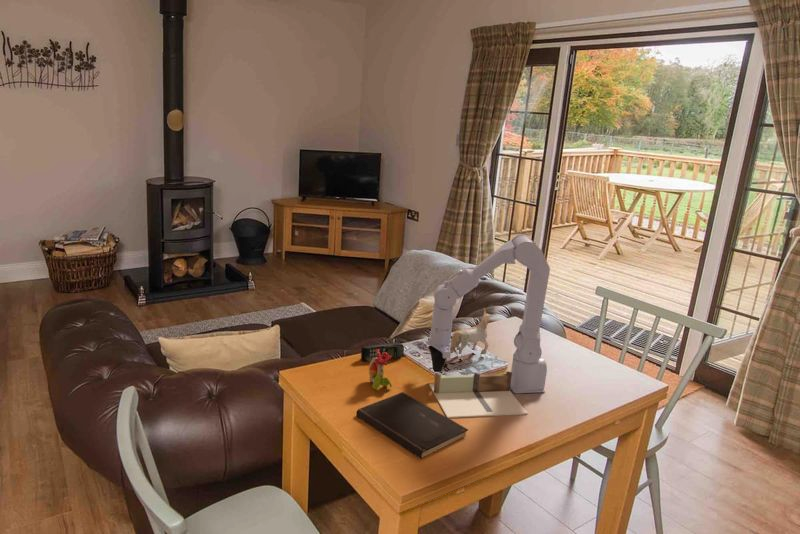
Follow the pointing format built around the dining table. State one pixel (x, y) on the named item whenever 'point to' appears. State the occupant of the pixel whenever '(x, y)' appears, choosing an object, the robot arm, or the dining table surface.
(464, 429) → the hardcover book
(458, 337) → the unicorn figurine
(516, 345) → the robot arm
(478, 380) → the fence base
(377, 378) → the bird rattle
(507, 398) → the card
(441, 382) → the fence panel
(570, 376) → the dining table surface
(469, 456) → the dining table surface
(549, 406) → the dining table surface
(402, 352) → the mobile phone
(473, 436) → the dining table surface
